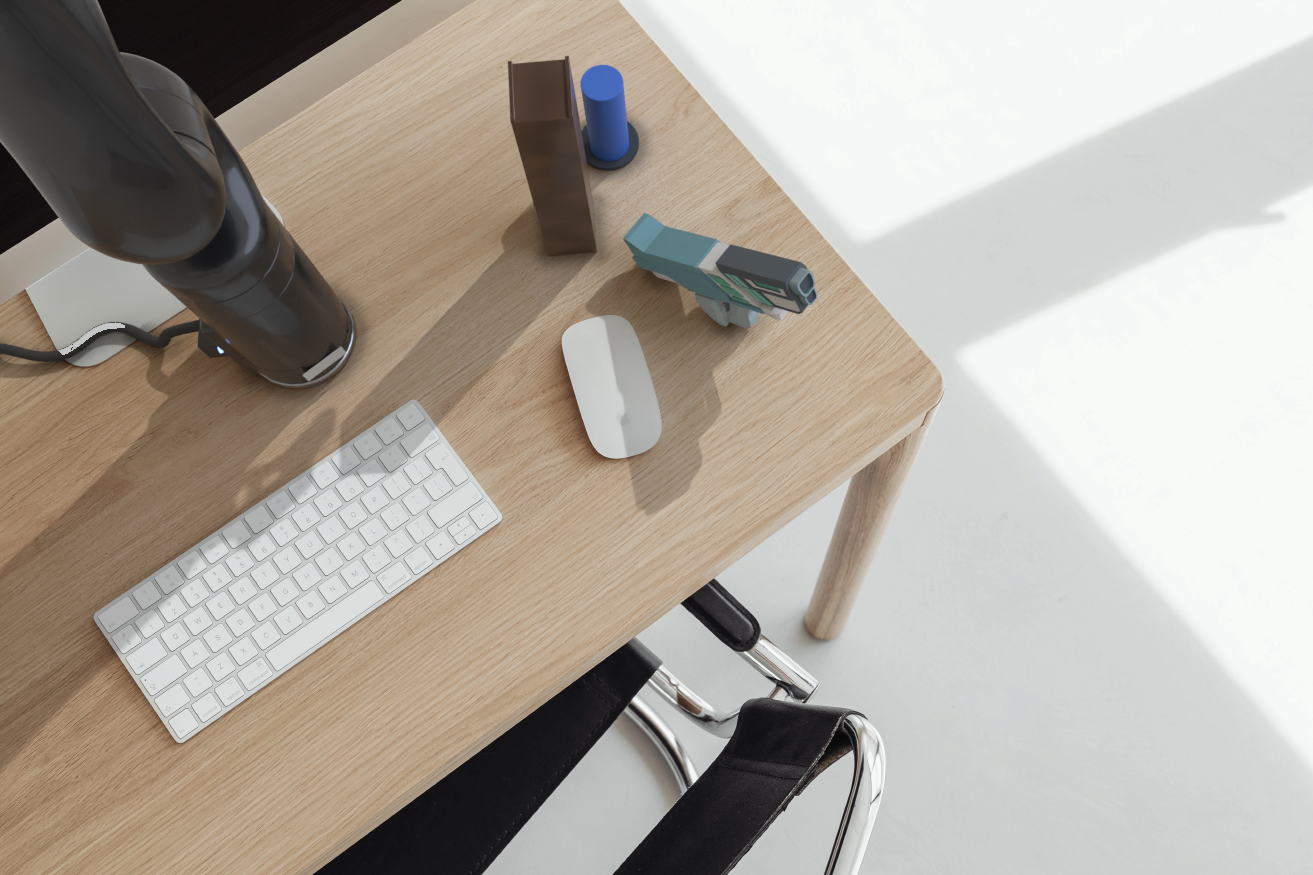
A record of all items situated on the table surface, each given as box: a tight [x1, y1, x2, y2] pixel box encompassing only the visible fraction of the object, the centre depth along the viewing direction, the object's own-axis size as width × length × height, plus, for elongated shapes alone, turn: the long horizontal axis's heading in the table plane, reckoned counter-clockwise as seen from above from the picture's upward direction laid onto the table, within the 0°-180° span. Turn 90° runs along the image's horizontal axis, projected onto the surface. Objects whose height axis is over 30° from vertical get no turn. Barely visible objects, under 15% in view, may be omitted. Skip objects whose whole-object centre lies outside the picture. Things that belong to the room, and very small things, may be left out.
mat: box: [581, 120, 640, 171], centre depth 93 cm, size 6×6×1 cm
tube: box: [580, 64, 629, 161], centre depth 88 cm, size 9×4×4 cm
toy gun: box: [622, 212, 818, 329], centre depth 82 cm, size 4×19×10 cm
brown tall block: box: [507, 55, 598, 257], centre depth 81 cm, size 4×5×20 cm
